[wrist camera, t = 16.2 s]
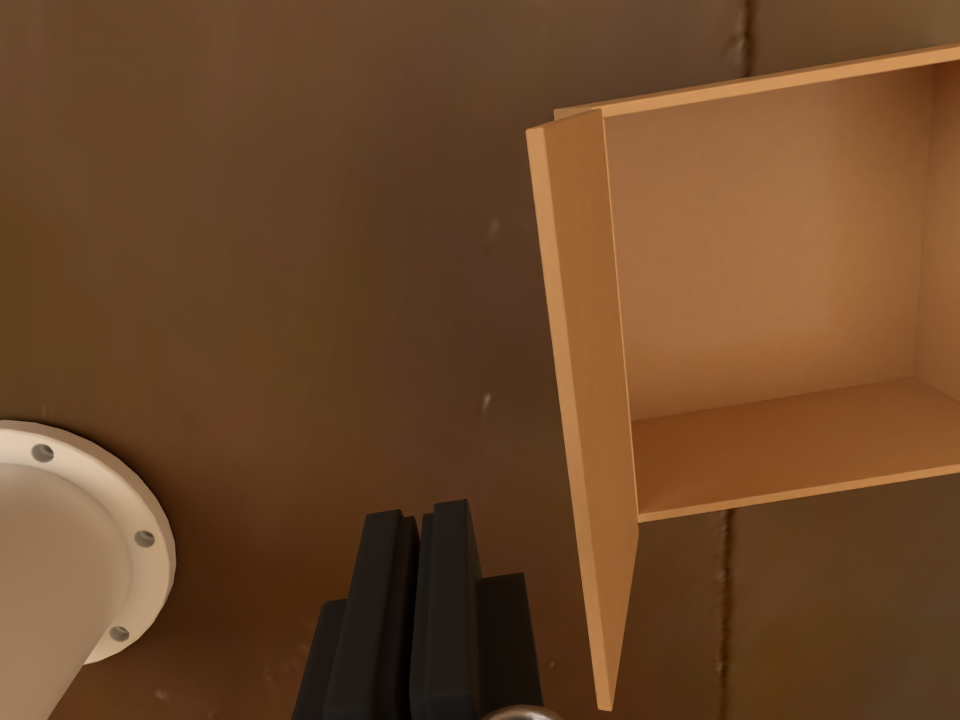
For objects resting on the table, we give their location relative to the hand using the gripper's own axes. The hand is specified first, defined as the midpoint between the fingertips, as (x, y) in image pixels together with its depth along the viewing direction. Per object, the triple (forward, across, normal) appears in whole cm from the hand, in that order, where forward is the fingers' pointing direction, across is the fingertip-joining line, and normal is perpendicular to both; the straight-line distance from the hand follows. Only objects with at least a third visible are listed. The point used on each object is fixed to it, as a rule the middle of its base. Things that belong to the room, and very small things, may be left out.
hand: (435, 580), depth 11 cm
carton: (+18, -13, 0) cm, 22 cm away
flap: (+7, -4, 0) cm, 8 cm away
